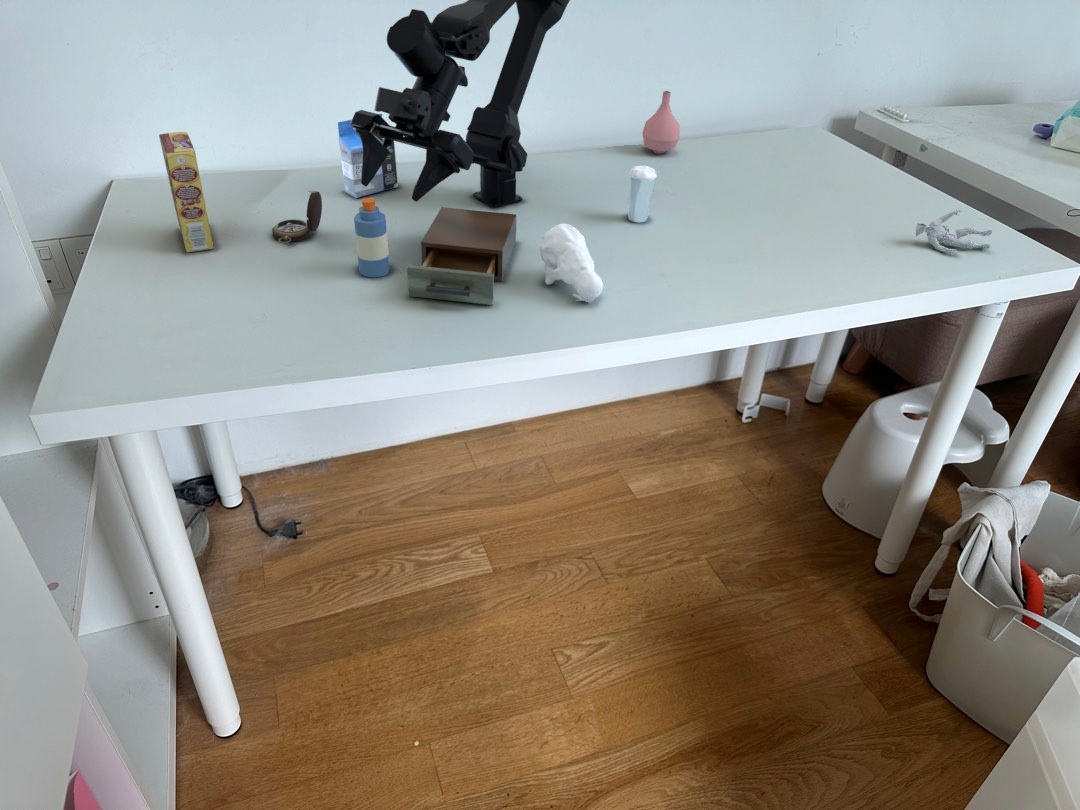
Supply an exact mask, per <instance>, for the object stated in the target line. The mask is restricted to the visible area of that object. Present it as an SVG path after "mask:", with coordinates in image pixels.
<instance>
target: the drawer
mask: <svg viewBox="0 0 1080 810" xmlns="http://www.w3.org/2000/svg"><path fill="white" fill-rule="evenodd" d="M497 267H498V254H490V253H481V252H471V251H461V250H451V249H442V248H432V249H431V251H430V253H429V254H428V256H427V258H426V260H425V262H424V263H423V265H422V264H421V265H413V264H408V265H407V267H406V276H407V290H408V291H407V292H408V297H414V298H424V299H433V300H434V299H435V300H441V301H442V300H444V301H452V302H461V303H471V304H480V305H489V306H493V304H494V301H495V281H494V275H495V272H496V270H497Z"/></svg>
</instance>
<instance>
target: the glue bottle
mask: <svg viewBox="0 0 1080 810" xmlns="http://www.w3.org/2000/svg"><path fill="white" fill-rule="evenodd" d="M386 219H387V217H386V215H385V213H383V212H381V211H380V207H378V206H377V205H376V200H375V198H373V197H363V198H362V199H361V206H360V207H359V208H358V213H356V214H355V215H354V216H353V221H354V222H353V223H354V235H355V245H356V246H355V247H356V255H357V260H358V261H357V262H358V270H359V271H358V272H359V274H360V275H361V276H364V277H366V278H382V277H384V276H386V275H388V274H389V273H390V258H389V256H390V255H389V240H388V230H387V220H386Z"/></svg>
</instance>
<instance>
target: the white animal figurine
mask: <svg viewBox="0 0 1080 810" xmlns="http://www.w3.org/2000/svg"><path fill="white" fill-rule="evenodd" d="M539 251H540V259H541V260H542V262H543V263H544V265H543V266H544V272H545V278H544V282H545V285H547V286H550V285H552V284H553V283H554V282H555V281H563V282H564V283H565V284H567V285H568V284H569V285H571V286H572V287H573V288H574V289H575V290H576V291H577V293H572V296H573V297H575V298H576V302H577V301H578V302H581V301H583V302H586V303H587V304H591V303H593V301H595V300H596V299H597V298H598V297H600V295H602V292H603V290H604V283H603V280H602V278H601V277H600V275H598V273H597V272H596V271H595V266H596V265H595V262H594V259H593V258H592V256H591V254H590V250H589V249H588V246H587V243H586V238H585V236H584V235H583V234H582V233H581V232H580V231H579V230H578V229H577V228H576V227H574V226H572V225H571V224H569V223H559V224H557V225H555V226H553V227H551V228H549V229H548V230H547V231H546V232H545V234H544V236H543V238H542V241H541V242H540V243H539Z"/></svg>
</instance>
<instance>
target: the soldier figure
mask: <svg viewBox="0 0 1080 810" xmlns="http://www.w3.org/2000/svg"><path fill="white" fill-rule="evenodd" d="M958 213H963V210H960V209H957V210H953V211H952V212H949V213H946V214H945V215H943V216H941V217H939V218H937V219H936V220H933V221H931V222H930V223H929V224H925V223H919V222H917V224H916V227H915V237H918V236H920V235H922V234H923V233H924V232H925V234H926V236H927V241H928V242H929V243H930V244H931V245H932V247H934V249H936V250H937V251H939V252H942V253H946V254H948V253H949V254H950V255H957V254H958V250H957V249H954V247H955V248H968V249H976V248H980V249H983V250H987V249H990V248H991V243H977V242H974V241H973V240H972V239H962V237H965V236H968V235H980V236H981V237H986V236H988V237H989V236H990V235H992V233H993V229H988V230H981V229H977V228H976V227H974V226H969V227H961V228H958V229H956V230H954V229H953V228H952V229H951V228H950V226H948V225H941V224H943V223H945V222H947V221H948V220H950V218H952V217H953V216H954V215H955V216H959V214H958ZM940 243H941V244H940ZM942 244H943V245H945V246H943V245H942ZM946 246H947V247H946ZM948 247H953V248H948Z"/></svg>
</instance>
